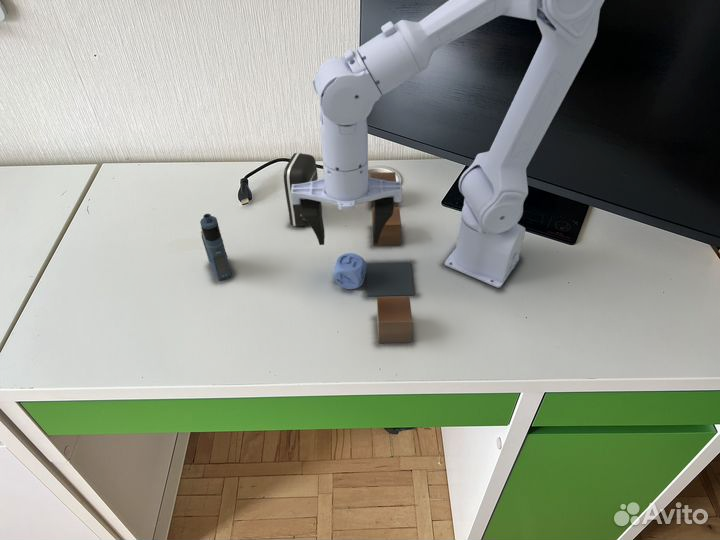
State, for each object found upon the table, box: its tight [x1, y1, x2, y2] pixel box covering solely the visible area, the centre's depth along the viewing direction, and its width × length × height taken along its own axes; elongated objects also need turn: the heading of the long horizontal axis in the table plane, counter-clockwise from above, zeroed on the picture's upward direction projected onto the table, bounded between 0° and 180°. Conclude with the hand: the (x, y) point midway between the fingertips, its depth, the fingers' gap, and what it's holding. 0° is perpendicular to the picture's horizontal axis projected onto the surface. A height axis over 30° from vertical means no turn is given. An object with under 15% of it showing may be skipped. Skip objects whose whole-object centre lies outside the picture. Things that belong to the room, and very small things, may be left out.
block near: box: [376, 296, 413, 344], centre depth 73 cm, size 4×4×4 cm
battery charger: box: [283, 152, 319, 227], centre depth 89 cm, size 7×4×11 cm, turn 166°
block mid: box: [371, 206, 402, 247], centre depth 88 cm, size 4×4×4 cm
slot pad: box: [365, 261, 415, 298], centre depth 82 cm, size 7×7×1 cm
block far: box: [369, 171, 397, 209], centre depth 95 cm, size 4×4×4 cm
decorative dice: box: [333, 252, 367, 290], centre depth 81 cm, size 4×4×4 cm
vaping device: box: [199, 213, 233, 281], centre depth 80 cm, size 3×5×12 cm, turn 28°
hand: (348, 239), depth 76 cm, fingers open, 7 cm apart
